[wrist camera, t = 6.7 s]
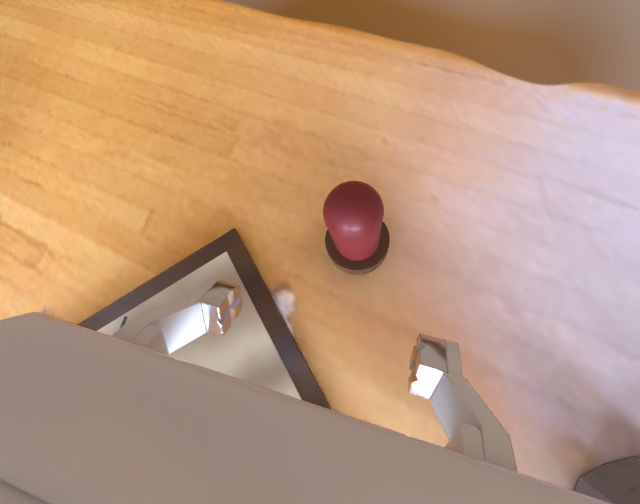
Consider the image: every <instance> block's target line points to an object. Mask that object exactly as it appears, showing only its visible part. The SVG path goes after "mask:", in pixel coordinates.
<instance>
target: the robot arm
mask: <svg viewBox="0 0 640 504" xmlns="http://www.w3.org/2000/svg"><path fill="white" fill-rule="evenodd" d="M240 293H241V287H240V286H239V285H236V284H232V283H229V282H225V281H222V280H218V279H214V278H211V277H210V278H208V279H207V280H206V281H205V282H204V283H203V284H202V285H201V286H199V287H198V288H197V289H196V290H195V291H194V292H193V293H192V294H191V295H190V296H189V297H188V298H183V299H180V300H178V301H175V302H172V303H170V304H167V305H164V306H161V307H159V308H156V309H153V310H151V311H148V312H145V313H143V314H140V315H137V316H135V317H132V318H131V319H130V320H129V321H128V322H127V323H126V324H124V325H123V326H122V327H121V328H120V329H119V330H118V331H116V332H115V333H114V334H113V335H112V336H109V335H106V334H103V333H100V332H97V331H94V330H91V329H88V328H85V327H82V326H79V325H76V324H73V323H70V322H67V321H64V320H61V319H58V318H56V317H53V316H50V315H47V314H44V313H40V312H31V313H27V314H22V315H18V316H14V317H10V318H7V319H3V320H0V504H611V503H608V502H605V501H602V500H599V499H596V498H593V497H590V496H587V495H584V494H581V493H578V492H575V491H572V490H569V489H566V488H563V487H560V486H557V485H554V484H551V483H548V482H545V481H542V480H539V479H536V478H533V477H530V476H527V475H524V474H521V473H518V472H517V467H516V463H515V458H514V453H513V449H512V444H511V439H510V436H509V434H508V433H507V432H506V430H505V429H504V428H503V426H502V425H501V424H500V422H499V421H498V420H497V418H496V417H495V416H494V414H493V413H492V412H491V410H490V409H489V408H488V406H487V405H486V404H485V402H484V401H483V400H482V398H481V397H480V396H479V394H478V393H477V392H476V390H475V389H474V388H473V386H472V385H471V384H470V382H469V381H468V380H467V379H466V378H463V375H462V366H461V358H460V349H459V344H458V343H456V342H452V341H448V340H444V339H440V338H436V337H432V336H428V335H424V334H421V333H419V335H418V337H417V342H416V346H414V348H413V351H412V355H411V359H410V370H411V374H410V377H409V389H408V393H411V394H414V395H417V396H420V397H423V398H426V399H429V400H430V403H431V405H432V407H433V409H434V411H435V413H436V415H437V417H438V419H439V421H440V423H441V425H442V427H443V429H444V431H445V433H446V435H447V437H448V439H449V443H448V444H447V446H446V447H445V448H444V447H441V446H438V445H435V444H432V443H429V442H426V441H423V440H420V439H417V438H414V437H411V436H408V435H405V434H402V433H399V432H396V431H393V430H390V429H387V428H384V427H381V426H378V425H375V424H372V423H369V422H366V421H363V420H360V419H357V418H354V417H351V416H348V415H345V414H342V413H339V412H336V411H333V410H330V409H327V408H324V407H321V406H318V405H315V404H312V403H309V402H306V401H303V400H300V399H297V398H294V397H291V396H288V395H285V394H282V393H279V392H276V391H273V390H270V389H267V388H264V387H262V386H259V385H256V384H253V383H250V382H247V381H244V380H241V379H238V378H235V377H232V376H229V375H226V374H223V373H220V372H217V371H214V370H211V369H208V368H205V367H202V366H199V365H196V364H193V363H190V362H187V361H184V360H181V359H178V358H175V357H172V356H170V353H172V352H173V351H175V350H177V349H179V348H180V347H182V346H184V345H186V344H187V343H189V342H191V341H192V340H194V339H196V338H198V337H199V336H201V335H203V334H204V333H206V331H207V332H211V333H215V334H218V335H222V336H224V334H225V333H226V331H227V330H228V329H229V327H230V326H231V321H232V320H234V319H236V318H237V316H238V315H239V313H240V311H241V308H242V299H241V297H240V296H239V294H240Z"/></svg>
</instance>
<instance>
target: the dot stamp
mask: <svg viewBox="0 0 640 504" xmlns="http://www.w3.org/2000/svg"><path fill="white" fill-rule="evenodd" d="M383 214H384V207H383V203H382V200H381V198H380V196H379V194H378V193H377V191H376V190H375V189H374V188H372V187H371V186H370V185H368V184H366V183H363V182H359V181H349V182H345V183H342V184H340V185H338V186H337V187H335V188H334V189H333V190H332V191H331V192H330V193H329V195H328V196H327V198H326V200H325V203H324V208H323V216H324V221H325V223H326V226H327V228H328V229H327V232H326V237H325V243H326V249H327V252H328V254H329V256H330V257H331V259H332V261H333V262H334V264H335V265H336V266H337V267H339V268H340V269H341V270H343V271H345V272H347V273H351V274H365V273H368V272H371V271H373V270H374V269H376V268H377V267H378V266H379V265H380V264H381V263H382V262H383V260H384V259H385V256H386V254H387V250H388V247H389V233H388V229H387V227H386V225H385V223H384V222H383Z"/></svg>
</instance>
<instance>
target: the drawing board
mask: <svg viewBox="0 0 640 504" xmlns="http://www.w3.org/2000/svg"><path fill="white" fill-rule="evenodd" d="M210 277H211V278H214V279H218V280H222V281H225V282H229V283H232V284H236V285H239V286H240V287H241V293H240V294H239V296H240V297H241V299H242V308H241V311H240V313H239V315H238V316H237V318H236V319H234V320H232V321H231V326H230V327H229V329H228V330H227V331H226V333H225V334H224V336H222V335H218V334H215V333H211V332H207V331H206V333H204V334H203V335H201V336H199V337H198V338H196V339H194V340H192V341H191V342H189V343H187V344H186V345H184V346H182V347H180V348H179V349H177V350H175V351H173V352H172V353H170V356H172V357H175V358H178V359H181V360H184V361H187V362H190V363H193V364H196V365H199V366H202V367H205V368H208V369H211V370H214V371H217V372H220V373H223V374H226V375H229V376H232V377H235V378H238V379H241V380H244V381H247V382H250V383H253V384H256V385H259V386H262V387H264V388H267V389H270V390H273V391H276V392H279V393H282V394H285V395H288V396H291V397H294V398H297V399H300V400H303V401H306V402H309V403H312V404H315V405H318V406H321V407H324V408H327V409H330V410H331V408H330V406H329V404H328V402H327V400H326V398H325V396H324V394H323V393H322V391H321V389H320V387H319V385H318V383H317V381H316V379H315V377H314V376H313V374H312V372H311V370H310V368H309V366H308V364H307V362H306V360H305V359H304V357H303V355H302V353H301V351H300V349H299V347H298V345H297V343H296V342H295V340H294V338H293V336H292V334H291V332H290V330H289V328H288V326H287V325H286V323H285V321H284V319H283V317H282V315H281V313H280V311H279V309H278V307H277V306H276V304H275V302H274V300H273V298H272V296H271V294H270V292H269V290H268V289H267V287H266V285H265V283H264V281H263V279H262V277H261V275H260V273H259V272H258V270H257V268H256V266H255V264H254V262H253V260H252V258H251V256H250V255H249V253H248V251H247V249H246V247H245V245H244V243H243V241H242V239H241V238H240V236H239V234H238V232H237V230H236V229H235V228H234V229H232V230H231V231H229V232H227V233H226V234H224V235H222V236H221V237H219V238H218V239H216V240H214V241H213V242H211V243H209V244H208V245H206V246H205V247H203V248H201V249H200V250H198V251H196V252H195V253H193V254H192V255H190V256H188V257H187V258H185V259H183V260H182V261H180V262H179V263H177V264H175V265H174V266H172V267H170V268H169V269H167V270H166V271H164V272H162V273H161V274H159V275H158V276H156V277H154V278H153V279H151V280H149V281H148V282H146V283H145V284H143V285H141V286H140V287H138V288H136V289H135V290H133V291H132V292H130V293H128V294H127V295H125V296H123V297H122V298H120V299H119V300H117V301H115V302H114V303H112V304H110V305H109V306H107V307H106V308H104V309H102V310H101V311H99V312H98V313H96V314H94V315H93V316H91V317H89V318H88V319H86V320H85V321H83V322H81V323H80V324H78V325H79V326H82V327H85V328H88V329H91V330H94V331H97V332H100V333H103V334H106V335H109V336H112V335H113V334H114V333H115V332H116V331H118V330H119V329H120V328H121V327H122V326H123V325H124V324H126V323H127V322H128V321H129V320H130V319H131V318H132V317H135V316H137V315H140V314H143V313H145V312H148V311H151V310H153V309H156V308H159V307H161V306H164V305H167V304H170V303H172V302H175V301H178V300H180V299H183V298H188V297H189V296H190V295H191V294H192V293H193V292H194V291H195V290H196V289H197V288H198V287H199V286H201V285H202V284H203V283H204V282H205V281H206V280H207V279H208V278H210Z"/></svg>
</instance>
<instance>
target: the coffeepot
mask: <svg viewBox="0 0 640 504" xmlns="http://www.w3.org/2000/svg"><path fill="white" fill-rule="evenodd" d="M574 491H575V492H578V493H581V494H584V495H587V496H590V497H593V498H596V499H599V500H602V501H605V502H608V503H611V504H640V458H639V457H637V456H633V457H630V458H626V459H622V460H619V461H615V462H611V463H607V464H603V465H601V466H599V467H598V468H596V469H594V470H592V471H591V472H589V473H588V474H587V475H584V476H581V477H580V478H579V480H578V482H577V485H576V487H575V490H574Z"/></svg>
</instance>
